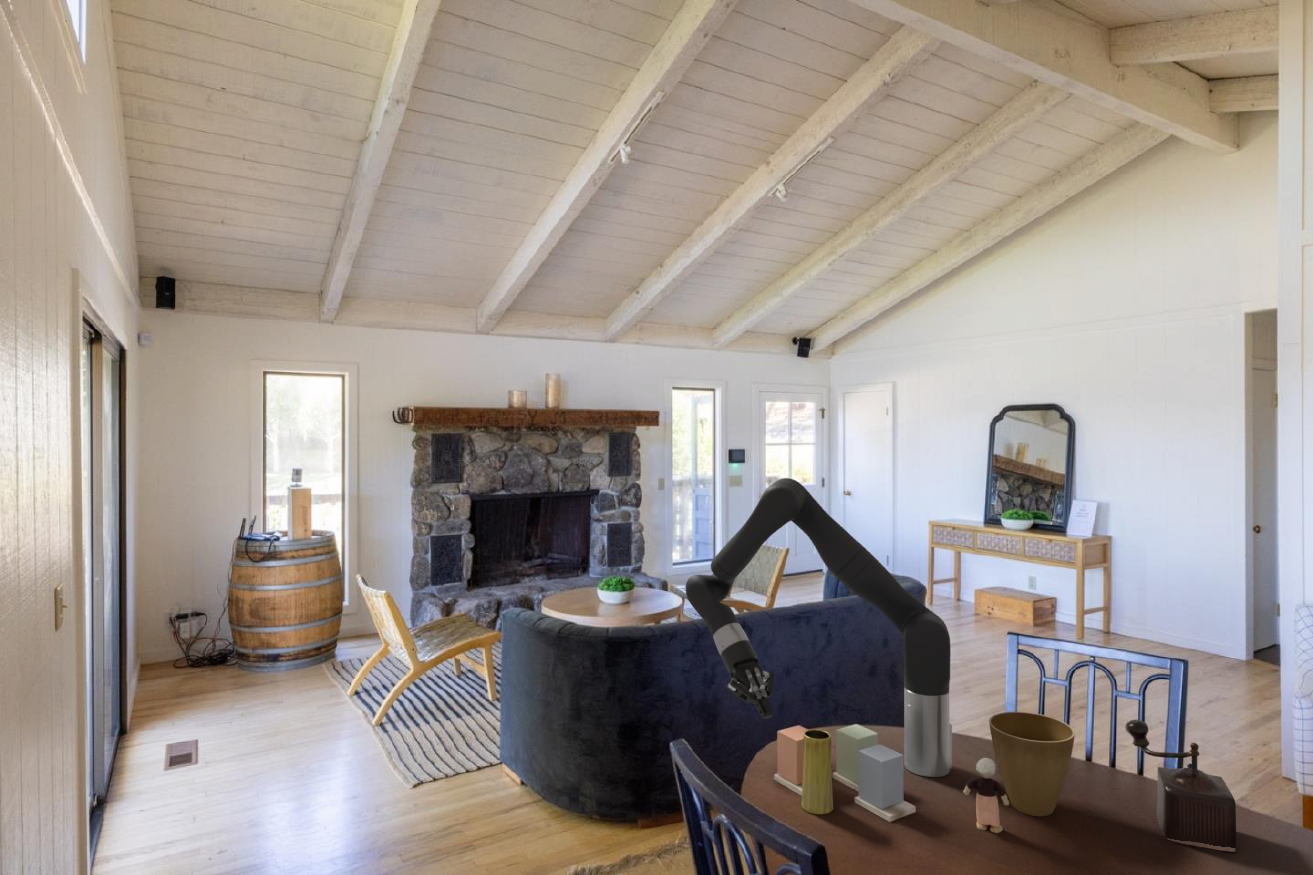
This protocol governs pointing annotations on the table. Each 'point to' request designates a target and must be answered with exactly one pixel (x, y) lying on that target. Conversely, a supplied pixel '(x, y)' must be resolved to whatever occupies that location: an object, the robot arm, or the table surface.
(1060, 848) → the table surface
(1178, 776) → the dark brown coffee grinder
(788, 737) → the terracotta block
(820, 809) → the vase
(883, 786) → the slate block
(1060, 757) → the plant pot
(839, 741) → the sage block
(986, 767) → the grandmother figurine
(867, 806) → the block bases
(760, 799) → the table surface
